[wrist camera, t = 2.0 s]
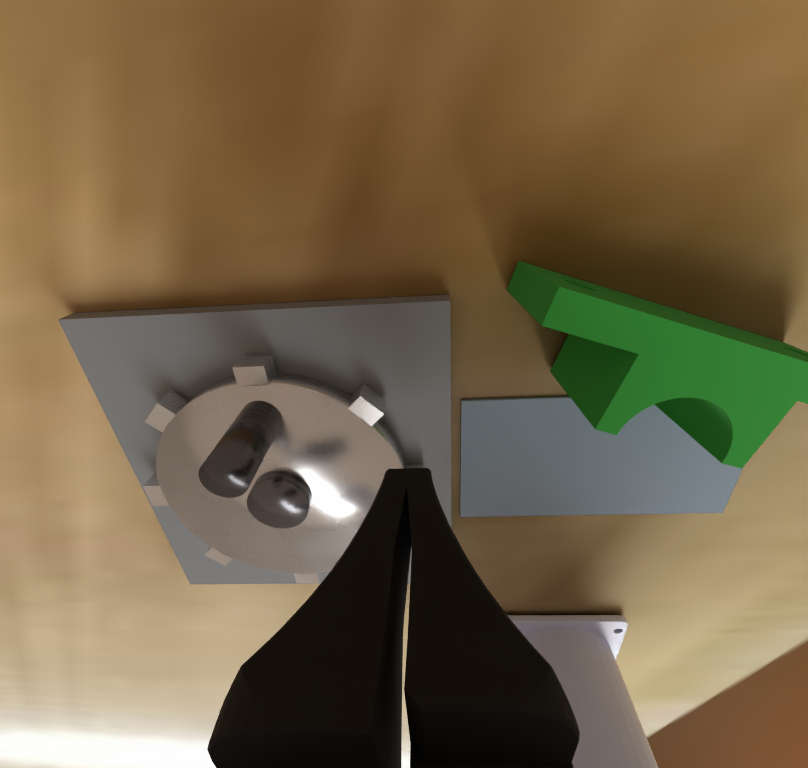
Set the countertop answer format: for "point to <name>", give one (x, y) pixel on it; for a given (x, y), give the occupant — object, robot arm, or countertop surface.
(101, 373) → the mount plate
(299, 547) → the sprocket
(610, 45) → the countertop surface
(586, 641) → the robot arm
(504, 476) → the mat
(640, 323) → the pipe clamp
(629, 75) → the countertop surface
